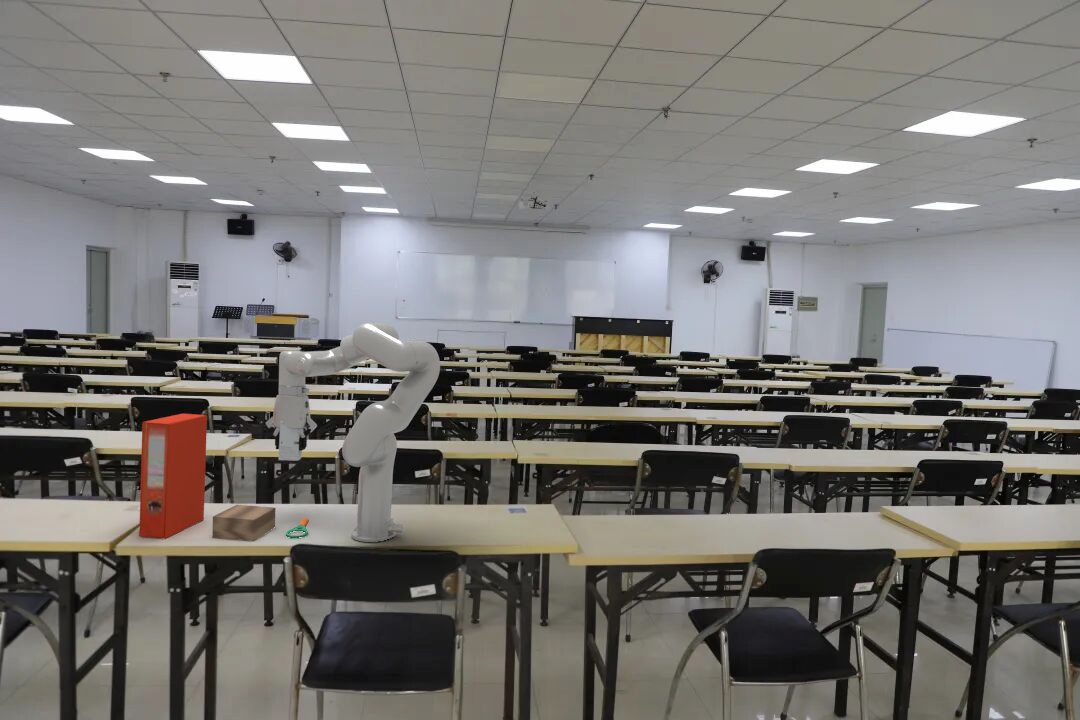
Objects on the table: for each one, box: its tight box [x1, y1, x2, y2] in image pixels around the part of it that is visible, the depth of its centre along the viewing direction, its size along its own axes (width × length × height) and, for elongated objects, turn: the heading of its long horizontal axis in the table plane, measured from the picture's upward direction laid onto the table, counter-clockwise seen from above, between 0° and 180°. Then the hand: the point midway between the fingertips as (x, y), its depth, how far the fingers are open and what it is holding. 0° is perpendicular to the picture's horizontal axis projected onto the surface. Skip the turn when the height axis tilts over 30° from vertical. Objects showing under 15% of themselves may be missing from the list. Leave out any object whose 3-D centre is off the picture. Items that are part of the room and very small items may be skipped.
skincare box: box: [278, 421, 303, 462], centre depth 196 cm, size 6×4×12 cm
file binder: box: [138, 413, 208, 540], centre depth 184 cm, size 8×17×32 cm, turn 176°
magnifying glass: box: [285, 517, 309, 539], centre depth 189 cm, size 15×6×2 cm, turn 9°
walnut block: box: [211, 504, 277, 541], centre depth 184 cm, size 12×12×6 cm
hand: (290, 448), depth 196 cm, fingers closed on skincare box, 6 cm apart
